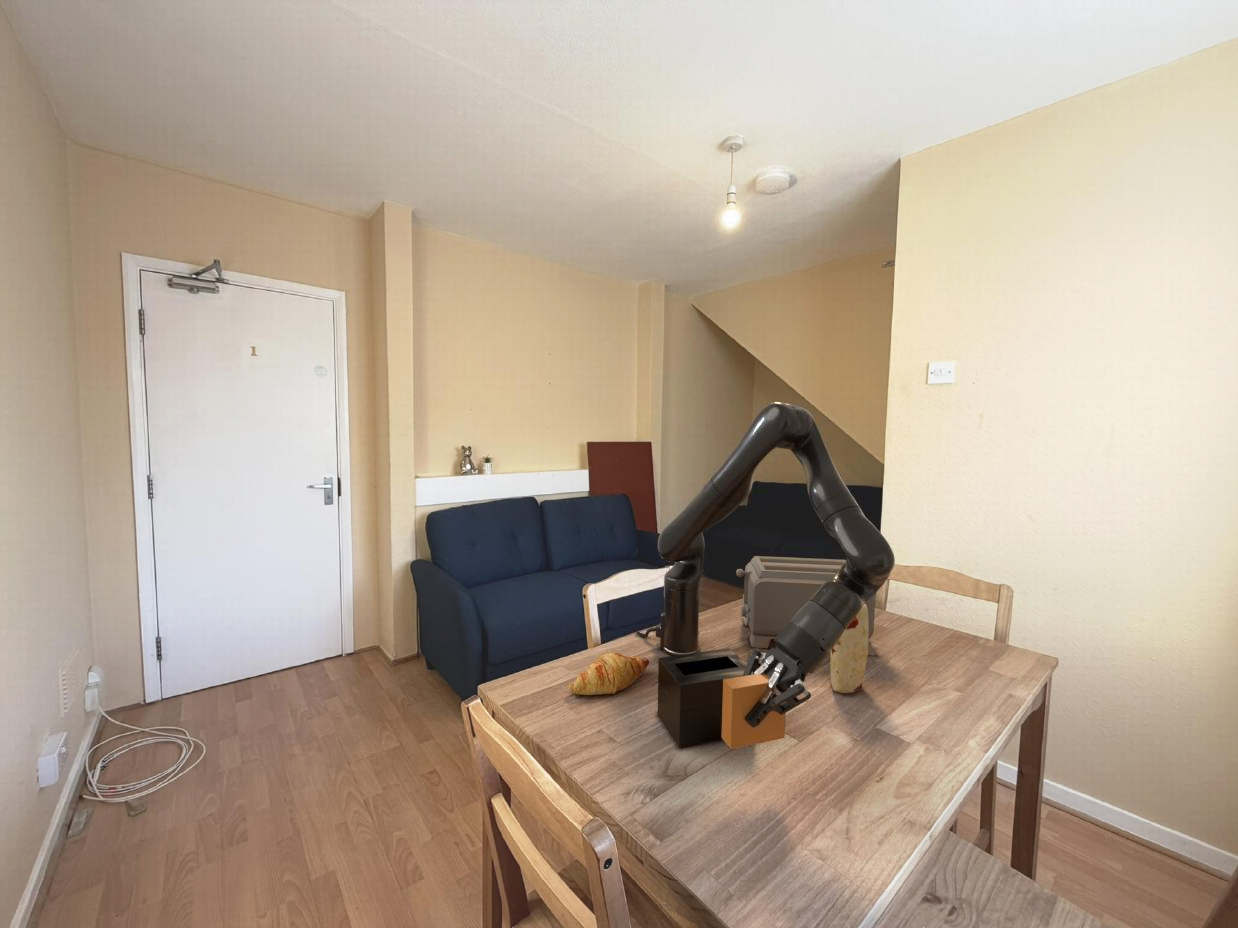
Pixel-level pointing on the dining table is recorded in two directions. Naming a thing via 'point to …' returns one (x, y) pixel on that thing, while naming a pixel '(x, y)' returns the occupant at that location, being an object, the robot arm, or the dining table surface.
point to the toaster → (785, 593)
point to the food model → (851, 655)
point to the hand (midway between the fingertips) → (743, 716)
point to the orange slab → (738, 704)
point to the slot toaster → (695, 694)
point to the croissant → (609, 674)
